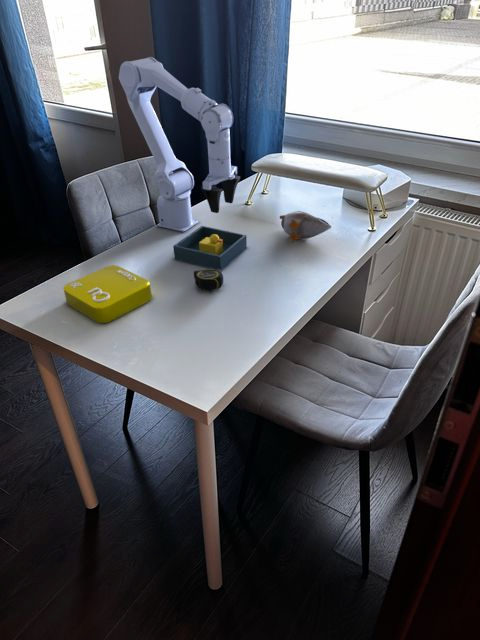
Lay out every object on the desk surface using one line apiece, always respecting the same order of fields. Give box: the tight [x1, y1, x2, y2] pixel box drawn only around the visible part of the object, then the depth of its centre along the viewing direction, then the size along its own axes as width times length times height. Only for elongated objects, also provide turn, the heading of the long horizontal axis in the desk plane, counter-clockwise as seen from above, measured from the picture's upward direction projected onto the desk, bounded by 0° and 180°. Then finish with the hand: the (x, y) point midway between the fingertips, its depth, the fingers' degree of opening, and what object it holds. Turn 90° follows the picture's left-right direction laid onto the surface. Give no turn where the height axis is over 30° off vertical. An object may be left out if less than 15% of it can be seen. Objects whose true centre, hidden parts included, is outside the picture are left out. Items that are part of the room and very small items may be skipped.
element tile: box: [62, 264, 153, 325], centre depth 116 cm, size 15×15×5 cm
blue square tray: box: [172, 225, 248, 271], centre depth 135 cm, size 14×14×4 cm
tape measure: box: [193, 268, 224, 292], centre depth 121 cm, size 7×7×4 cm
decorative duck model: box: [279, 210, 332, 243], centre depth 143 cm, size 15×8×15 cm
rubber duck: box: [199, 234, 223, 255], centre depth 134 cm, size 6×4×5 cm, turn 64°
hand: (222, 207), depth 139 cm, fingers open, 7 cm apart
